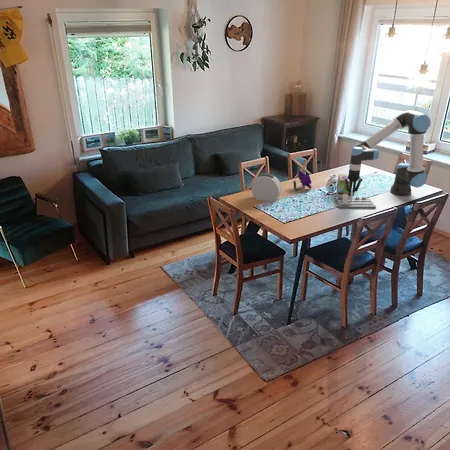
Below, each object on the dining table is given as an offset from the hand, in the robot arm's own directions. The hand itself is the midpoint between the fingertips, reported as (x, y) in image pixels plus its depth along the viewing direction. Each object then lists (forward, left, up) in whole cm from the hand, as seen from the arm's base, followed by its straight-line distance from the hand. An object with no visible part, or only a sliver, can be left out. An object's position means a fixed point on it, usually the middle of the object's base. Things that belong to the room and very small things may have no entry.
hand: (350, 200), depth 307 cm
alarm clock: (+60, -11, -4) cm, 62 cm away
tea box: (0, -18, -4) cm, 18 cm away
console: (-4, 0, -4) cm, 5 cm away
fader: (+4, 0, -2) cm, 4 cm away
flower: (+31, -30, -4) cm, 44 cm away
